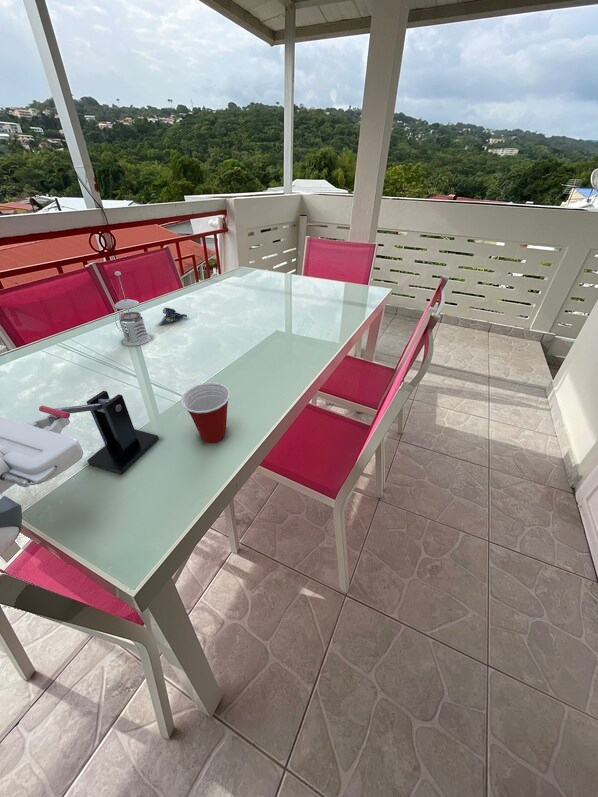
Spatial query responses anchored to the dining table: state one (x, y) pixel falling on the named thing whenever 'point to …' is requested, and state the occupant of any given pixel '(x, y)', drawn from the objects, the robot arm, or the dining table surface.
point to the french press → (131, 336)
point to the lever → (74, 409)
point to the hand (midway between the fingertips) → (62, 417)
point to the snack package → (171, 315)
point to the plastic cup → (208, 409)
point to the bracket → (118, 436)
